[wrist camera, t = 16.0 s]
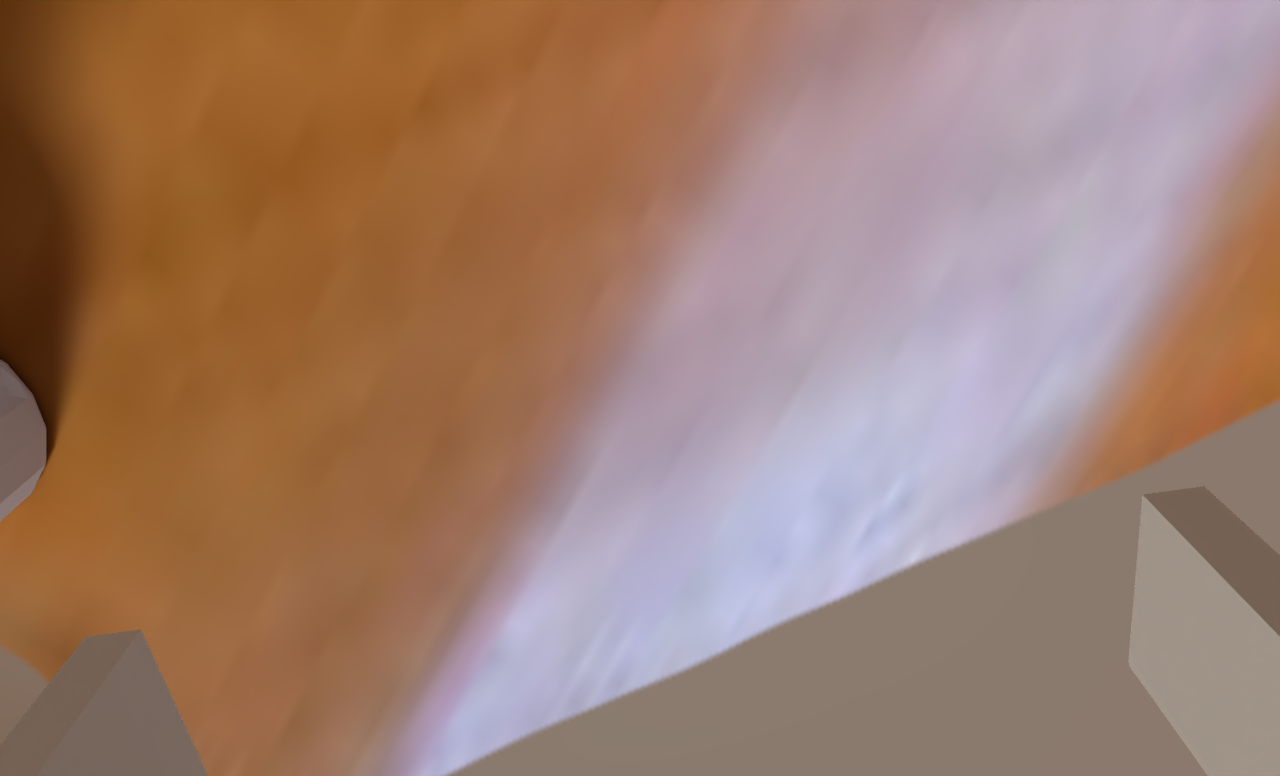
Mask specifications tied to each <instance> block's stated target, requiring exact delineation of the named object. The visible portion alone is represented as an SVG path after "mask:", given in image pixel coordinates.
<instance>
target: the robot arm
mask: <svg viewBox="0 0 1280 776" xmlns="http://www.w3.org/2000/svg"><path fill="white" fill-rule="evenodd" d="M1128 665H1129V666H1130V667H1131V669H1132V670H1133V672H1134V673H1135V674H1136V676H1137V677H1138V678H1139V680H1140V681H1141V683H1142V684H1143V686H1144V687H1145V688H1146V690H1147V691H1148V692H1149V694H1150V695H1151V697H1152V698H1153V700H1154V701H1155V702H1156V704H1157V705H1158V707H1159V708H1160V709H1161V711H1162V712H1163V714H1164V715H1165V716H1166V718H1167V719H1168V720H1169V722H1170V723H1171V725H1172V726H1173V728H1174V729H1175V730H1176V732H1177V733H1178V735H1179V736H1180V737H1181V739H1182V740H1183V741H1184V743H1185V744H1186V746H1187V747H1188V748H1189V750H1190V751H1191V753H1192V754H1193V755H1194V757H1195V758H1196V760H1197V761H1198V763H1199V764H1200V765H1201V766H1202V768H1203V769H1204V771H1205V772H1206V774H1207V775H1208V776H1280V555H1279V554H1278V553H1277V552H1275V551H1274V550H1273V549H1272V548H1271V547H1270V546H1269V545H1268V544H1267V543H1266V542H1264V541H1263V540H1262V539H1261V538H1260V537H1259V536H1258V535H1257V534H1256V533H1255V532H1253V531H1252V530H1251V529H1250V528H1249V527H1248V526H1247V525H1246V524H1245V523H1244V522H1243V521H1241V520H1240V519H1239V518H1238V517H1237V516H1236V515H1235V514H1234V513H1233V512H1232V511H1230V510H1229V509H1228V508H1227V507H1226V506H1225V505H1224V504H1223V503H1222V502H1221V501H1219V500H1218V499H1217V498H1216V497H1215V496H1214V495H1213V494H1212V493H1211V492H1210V491H1209V490H1207V489H1206V488H1205V487H1204V486H1203V487H1196V488H1188V489H1182V490H1174V491H1167V492H1159V493H1152V494H1144V495H1142V507H1141V519H1140V531H1139V542H1138V554H1137V567H1136V578H1135V590H1134V603H1133V614H1132V627H1131V638H1130V651H1129V662H1128ZM0 776H208V774H207V772H206V770H205V768H204V765H203V763H202V761H201V759H200V757H199V755H198V752H197V750H196V748H195V746H194V744H193V742H192V739H191V737H190V735H189V733H188V731H187V728H186V726H185V724H184V722H183V720H182V718H181V715H180V713H179V711H178V709H177V707H176V705H175V702H174V700H173V698H172V696H171V694H170V692H169V689H168V687H167V685H166V683H165V681H164V678H163V676H162V674H161V672H160V670H159V668H158V665H157V663H156V661H155V659H154V657H153V655H152V652H151V650H150V648H149V646H148V644H147V642H146V639H145V637H144V635H143V633H142V631H141V630H134V631H127V632H119V633H112V634H104V635H97V636H89V637H85V638H84V640H83V641H82V642H81V643H80V645H79V646H78V647H77V648H76V650H75V651H74V652H73V654H72V655H71V656H70V657H69V659H68V660H67V661H66V662H65V664H64V665H63V666H62V668H61V669H60V670H59V671H58V673H57V674H56V675H55V676H54V678H53V679H52V680H51V681H50V683H49V684H48V685H47V687H46V688H45V689H44V690H43V692H42V693H41V694H40V695H39V697H38V698H37V699H36V701H35V702H34V703H33V705H32V706H31V707H30V708H29V709H28V711H27V712H26V713H25V715H24V716H23V717H22V718H21V720H20V721H19V722H18V723H17V725H16V726H15V727H14V729H13V730H12V731H11V732H10V734H9V735H8V736H7V737H6V739H5V740H4V741H3V743H2V744H1V745H0Z"/></svg>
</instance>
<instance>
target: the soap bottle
mask: <svg viewBox="0 0 1280 776" xmlns="http://www.w3.org/2000/svg"><path fill="white" fill-rule="evenodd" d="M45 465H46V426H45V423H44V421H43V418H42V416H41V413H40V411H39V408H38V406H37V403H36V401H35V398H34V396H33V394H32V393H31V391H30V390H29V389H28V388H27V387H26V385H25V384H24V383H23V382H22V381H21V380H20V378H19V377H18V376H17V375H16V374H15V372H14V371H13V370H12V369H11V368H10V366H9V365H8V364H7V363H5V362H4V361H2V360H1V359H0V521H1V520H2V519H3V518H4V517H6V516H7V515H8V514H9V513H10V512H11V511H12V510H13V509H14V508H16V507H17V506H18V505H19V504H20V503H21V502H22V501H23V500H24V499H26V498H27V497H28V496H29V495H30V494H31V493H32V492H33V490H34V488H35V486H36V484H37V482H38V479H39V477H40V475H41V473H42V471H43V469H44V467H45Z"/></svg>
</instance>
